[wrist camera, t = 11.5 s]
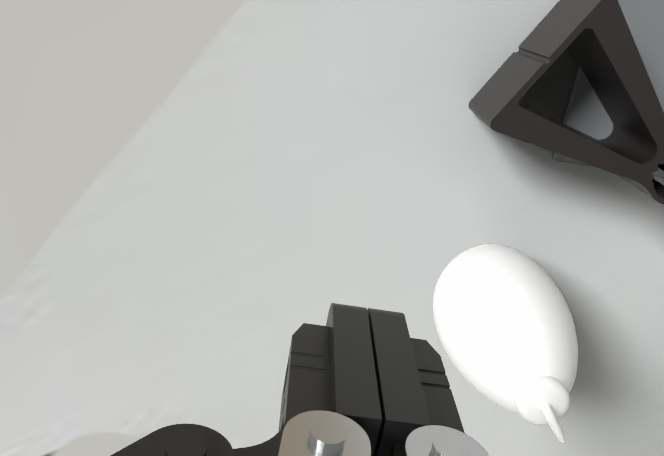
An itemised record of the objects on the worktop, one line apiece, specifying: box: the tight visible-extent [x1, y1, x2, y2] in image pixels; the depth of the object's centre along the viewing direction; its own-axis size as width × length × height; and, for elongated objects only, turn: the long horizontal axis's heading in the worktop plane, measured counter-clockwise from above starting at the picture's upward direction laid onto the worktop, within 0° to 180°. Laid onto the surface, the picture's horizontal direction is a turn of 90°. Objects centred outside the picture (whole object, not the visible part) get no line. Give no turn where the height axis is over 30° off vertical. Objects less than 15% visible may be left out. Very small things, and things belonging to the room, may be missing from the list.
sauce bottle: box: [433, 244, 578, 444], centre depth 37 cm, size 8×8×18 cm
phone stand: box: [469, 0, 664, 204], centre depth 37 cm, size 9×6×12 cm
